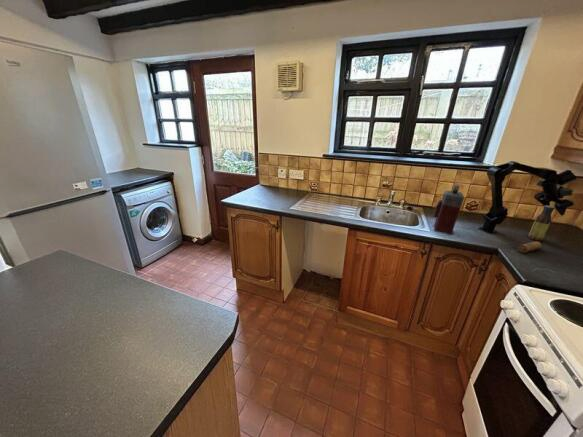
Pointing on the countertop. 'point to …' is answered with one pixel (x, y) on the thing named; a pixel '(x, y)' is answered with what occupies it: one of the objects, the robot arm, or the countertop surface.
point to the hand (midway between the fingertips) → (555, 212)
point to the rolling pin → (529, 247)
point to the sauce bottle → (541, 224)
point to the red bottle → (448, 210)
